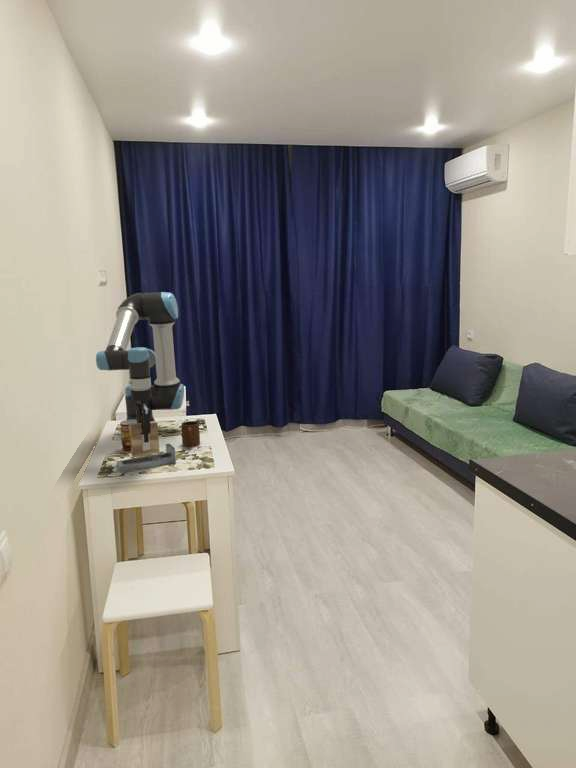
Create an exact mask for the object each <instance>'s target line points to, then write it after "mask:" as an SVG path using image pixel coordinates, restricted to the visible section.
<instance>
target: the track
mask: <svg viewBox="0 0 576 768" xmlns="http://www.w3.org/2000/svg"><path fill="white" fill-rule="evenodd" d="M165 451H166V452H163V453H155V454H149V455H143V456H137V457H132V458H127V459H121V460H116V461H115V462H116V468H117V470H119V472H120V473H126V472H127V473H128V472H133V471H138V470H143V469H149V468H154V466H155V467H160V465H161V466H165V465H171V464H176V463H177V461H176V460H177V459H176V447H174V445H172V444H171V443H165Z"/></svg>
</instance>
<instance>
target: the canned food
mask: <svg viewBox="0 0 576 768" xmlns="http://www.w3.org/2000/svg"><path fill="white" fill-rule="evenodd" d="M131 424H137V420H135V419H132V420H126V419H125V420H122V421H120V422H119V425H120V435H121V448H122V449H121V450H122V452H124V453H125V452H126V453H131V440H130V427H129V425H131Z"/></svg>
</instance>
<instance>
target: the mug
mask: <svg viewBox="0 0 576 768" xmlns="http://www.w3.org/2000/svg"><path fill="white" fill-rule="evenodd" d="M180 425H181V427H180V429H181V442H182V445H183V446H184V447H196V446H197V447H198V446H199V445H200V443H201V438H200V437H201V436H200V431H201V430H200V423H199V422H198V421H194V420H193V421H192V420H191V421H190V420H189V421H184V422H182V423H181V424H180Z"/></svg>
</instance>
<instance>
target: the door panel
mask: <svg viewBox="0 0 576 768" xmlns="http://www.w3.org/2000/svg"><path fill="white" fill-rule="evenodd" d="M158 425H159V423H158V422H157V420H155V421H152V422H150V430H151V433H149V438H150V450H146V451H143V447H142V435H141V434H140V433H142V425H141V423H138V424H131V425H129V427H130V440H131V452H130V453H131V456H132V458H138V457H144V456H150V455H156V454H161V453H160V440H159V427H158Z"/></svg>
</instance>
